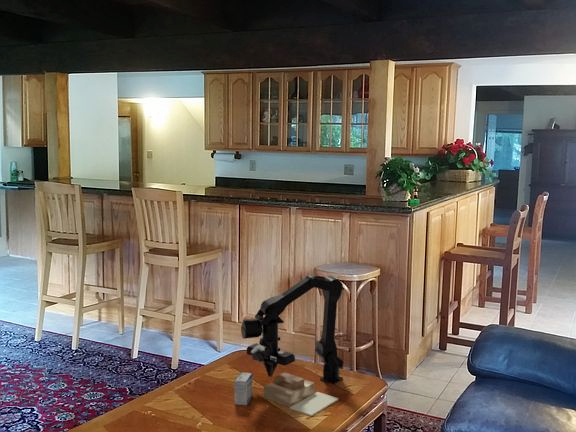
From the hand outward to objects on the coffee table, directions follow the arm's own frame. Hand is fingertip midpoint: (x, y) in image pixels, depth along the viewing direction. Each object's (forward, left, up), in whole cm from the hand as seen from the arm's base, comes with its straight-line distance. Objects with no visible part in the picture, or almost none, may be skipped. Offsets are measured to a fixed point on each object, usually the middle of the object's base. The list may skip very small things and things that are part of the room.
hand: (270, 376), depth 219 cm
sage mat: (0, +20, -5) cm, 21 cm away
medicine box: (+13, -1, -5) cm, 14 cm away
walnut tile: (0, +9, -1) cm, 9 cm away
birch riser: (0, +9, -5) cm, 10 cm away
